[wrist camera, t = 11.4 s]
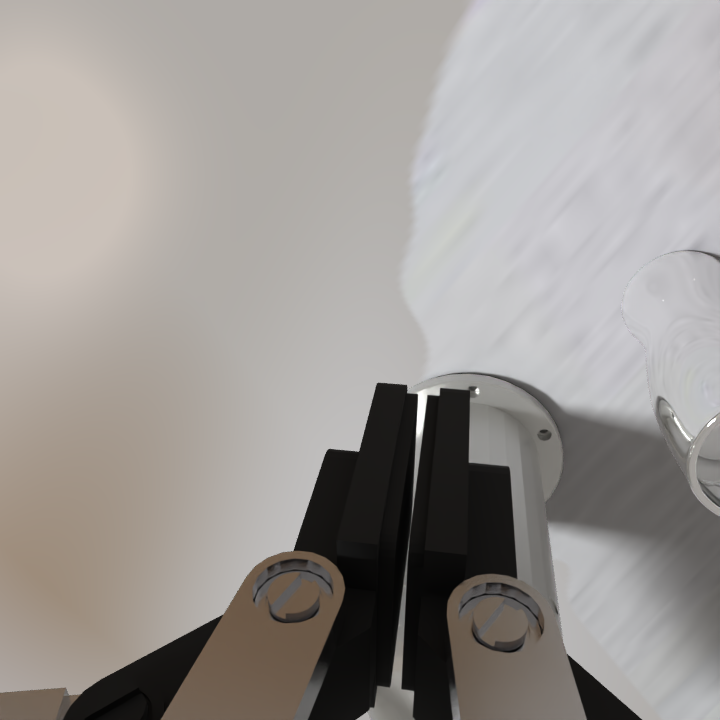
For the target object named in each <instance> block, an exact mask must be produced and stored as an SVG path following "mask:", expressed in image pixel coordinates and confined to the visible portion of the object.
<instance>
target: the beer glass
mask: <svg viewBox="0 0 720 720" xmlns="http://www.w3.org/2000/svg"><path fill="white" fill-rule="evenodd" d="M621 312H622V318H623V321H624V323H625V325H626V327H627V329H628V331H629V332H630V333H631V335H632V336H633V337H634V338H635V339H636V340H637V341H638V342H639V343H640V344H641V345H642V346H643V347H644V349H645V355H646V369H647V381H648V388H649V394H650V399H651V405H652V408H653V411H654V414H655V417H656V420H657V423H658V425H659V428H660V431H661V433H662V435H663V437H664V439H665V441H666V443H667V445H668V447H669V449H670V451H671V453H672V455H673V456H674V458H675V460H676V462H677V464H678V465H679V467H680V469H681V470H682V472H683V474H684V475H685V477H686V479H687V480H688V482H689V485H690V487H691V490H692V491H693V493H694V495H695V496H696V498H697V499H698V500H699V501H700V502H701V503H702V504H703V505H704V506H705V507H706V508H707V509H708V510H710V511H711V512H713V513H714V514H716V515H718V516H720V261H719V260H718V259H716V258H714V257H712V256H710V255H708V254H705V253H701V252H696V251H678V252H672V253H668V254H665V255H662V256H660V257H657V258H655V259H653V260H652V261H650V262H648V263H647V264H645V265H644V266H643V267H642V268H640V269H639V270H638V271H637V272H636V273H635V274H634V276H633V277H632V278H631V280H630V281H629V283H628V284H627V286H626V288H625V291H624V294H623V297H622V303H621Z"/></svg>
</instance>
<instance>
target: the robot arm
mask: <svg viewBox="0 0 720 720" xmlns="http://www.w3.org/2000/svg"><path fill="white" fill-rule="evenodd" d="M470 386H475V387H473V388H472V387H470ZM563 456H564V455H563V449H562V442H561V438H560V435H559V432H558V429H557V426H556V424H555V422H554V421H553V419H552V417H551V416H550V414H549V412H548V411H547V410H546V409H545V408H544V407H543V406H542V405H541V403H540V402H539V401H538V400H537V399H535V398H534V397H533V396H531V395H530V394H528V393H527V392H526V391H524V390H523V389H521V388H519V387H517V386H515V385H513V384H511V383H509V382H507V381H504V380H500V379H497V378H493V377H490V376H484V375H476V374H451V375H446V376H441V377H436V378H432V379H429V380H427V381H424V382H422V383H419V384H417V385H415V386H413V387H411V388H410V389H409V390H407V385H400V384H387V383H377V385H376V389H375V393H374V397H373V400H372V405H371V408H370V412H369V416H368V420H367V424H366V428H365V431H364V435H363V439H362V443H361V447H360V451H359V452H355V451H345V450H334V449H328V450H327V452H326V454H325V457H324V460H323V463H322V466H321V469H320V472H319V475H318V478H317V481H316V484H315V487H314V490H313V493H312V496H311V499H310V502H309V505H308V508H307V511H306V514H305V517H304V520H303V523H302V526H301V529H300V532H299V535H298V539H297V542H296V545H295V548H294V551H291V552H282V553H279V554H277V555H274V556H271V557H268V558H267V559H265V560H264V561H262V562H261V563H259V564H258V565H256V566H255V567H254V568H253V569H252V571H251V572H250V573H249V574H248V575H247V577H246V578H245V580H244V582H243V583H242V585H241V586H240V588H239V590H238V591H237V593H236V595H235V596H234V598H233V600H232V601H231V603H230V605H229V607H228V608H227V610H226V611H225V613H224V614H223V615H222V616H220V617H218V618H216V619H214V620H212V621H210V622H208V623H206V624H204V625H203V626H201V627H199V628H197V629H195V630H194V631H191V632H190V633H188V634H186V635H184V636H182V637H180V638H178V639H176V640H174V641H173V642H171V643H169V644H167V645H165V646H163V647H161V648H159V649H158V650H156V651H154V652H152V653H150V654H148V655H147V656H144V657H142V658H141V659H139V660H137V661H135V662H133V663H131V664H130V665H127V666H126V667H124V668H122V669H120V670H118V671H116V672H114V673H112V674H110V675H109V676H107V677H105V678H103V679H101V680H100V681H98V682H97V683H95V684H94V685H92V686H91V687H89V688H88V689H86V690H85V691H84V692H83V693H82V694H80V695H68V692H67V689H66V688H57V689H43V690H30V691H17V692H5V693H0V720H356V719H357V718H359V717H360V716H362V715H363V714H364V713H366V712H368V714H369V717H370V719H371V720H642V719H641V718H639V717H638V716H637V715H636V714H635V713H634V712H633V711H631V710H630V709H629V708H628V707H627V706H626V705H625V704H623V703H622V702H621V701H620V700H619V699H618V698H617V697H616V696H614V695H613V694H612V693H611V692H610V691H609V690H607V689H606V688H605V687H604V686H603V685H602V684H601V683H600V682H598V681H597V680H596V679H595V678H594V677H593V676H592V675H590V674H589V673H588V672H587V671H586V670H584V669H583V668H582V667H581V666H580V665H579V664H578V663H577V662H576V661H574V660H573V659H572V658H571V657H570V656H569V655H568V654H567V653H566V650H565V647H564V643H563V637H562V629H561V622H560V614H559V606H558V599H557V591H556V583H555V576H554V568H553V560H552V553H551V545H550V538H549V530H548V522H547V515H546V507H545V502H546V501H547V500H548V499H549V498H550V497H551V495H552V494H553V492H554V490H555V489H556V487H557V485H558V483H559V480H560V477H561V474H562V471H563Z"/></svg>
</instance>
